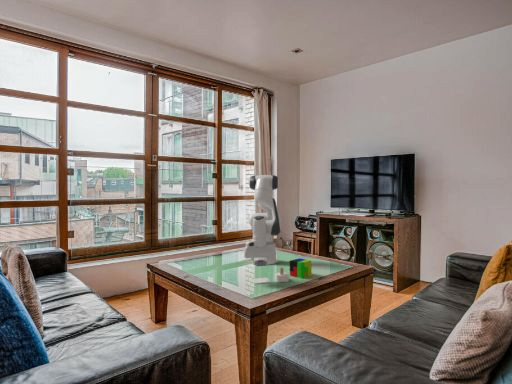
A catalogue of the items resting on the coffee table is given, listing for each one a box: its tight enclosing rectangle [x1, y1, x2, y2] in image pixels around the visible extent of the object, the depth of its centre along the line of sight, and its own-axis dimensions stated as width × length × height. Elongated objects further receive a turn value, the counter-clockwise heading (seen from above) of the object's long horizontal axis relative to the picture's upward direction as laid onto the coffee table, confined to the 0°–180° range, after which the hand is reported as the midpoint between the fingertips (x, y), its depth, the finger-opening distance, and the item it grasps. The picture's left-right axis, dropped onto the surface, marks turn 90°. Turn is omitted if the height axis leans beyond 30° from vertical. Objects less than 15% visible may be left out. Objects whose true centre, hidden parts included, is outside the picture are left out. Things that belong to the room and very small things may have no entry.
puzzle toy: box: [289, 257, 312, 279], centre depth 219 cm, size 10×10×10 cm
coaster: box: [251, 277, 271, 285], centre depth 208 cm, size 10×10×1 cm
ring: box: [254, 259, 267, 267], centre depth 208 cm, size 6×6×2 cm
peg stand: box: [274, 266, 290, 283], centre depth 209 cm, size 7×7×8 cm
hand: (260, 264), depth 208 cm, fingers closed on ring, 6 cm apart
